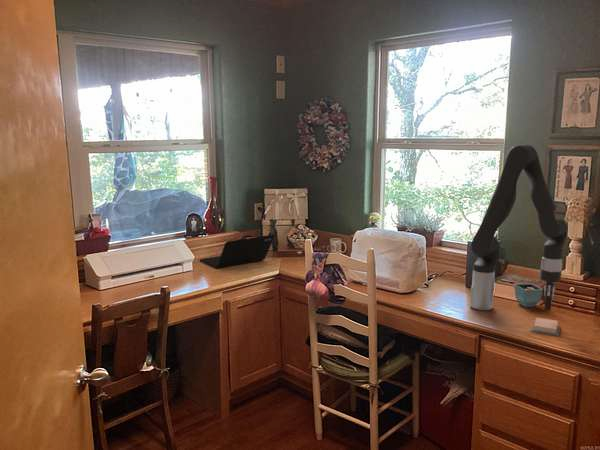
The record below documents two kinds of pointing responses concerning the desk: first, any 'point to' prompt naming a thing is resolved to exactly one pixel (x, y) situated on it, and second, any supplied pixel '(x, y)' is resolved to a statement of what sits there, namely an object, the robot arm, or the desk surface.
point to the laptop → (241, 252)
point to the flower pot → (527, 295)
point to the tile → (545, 325)
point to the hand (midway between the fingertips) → (547, 309)
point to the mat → (546, 332)
